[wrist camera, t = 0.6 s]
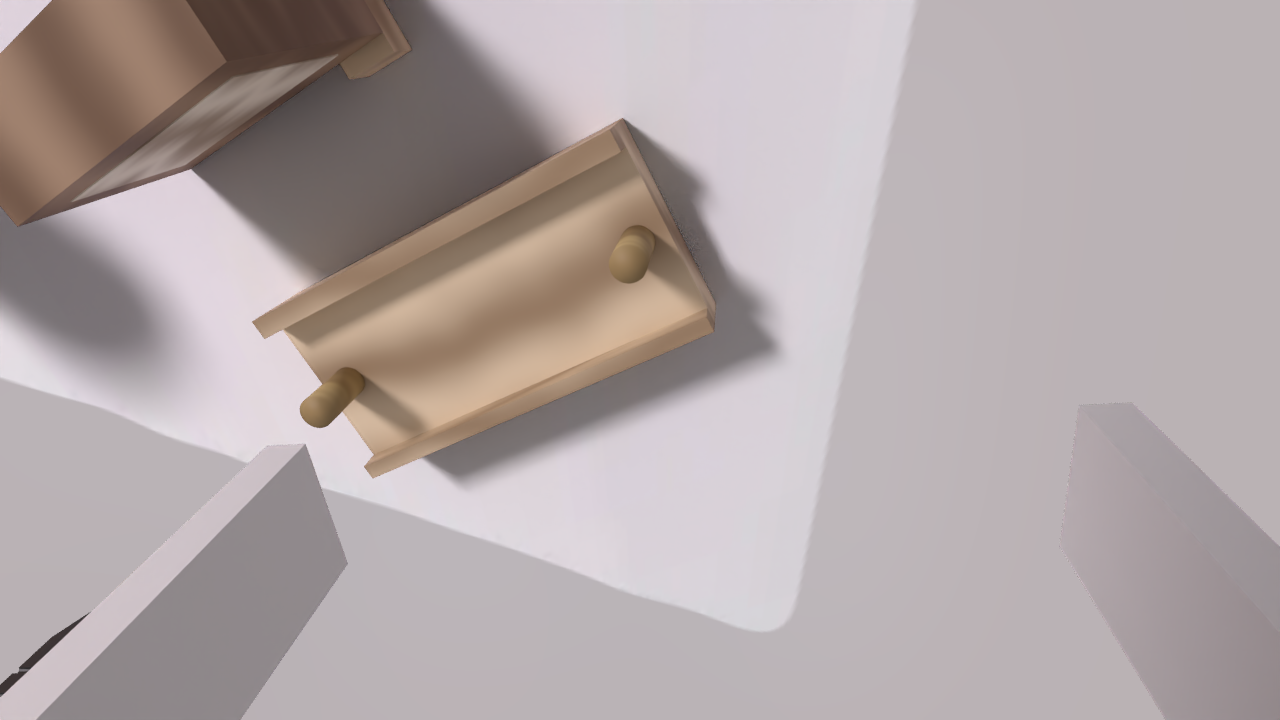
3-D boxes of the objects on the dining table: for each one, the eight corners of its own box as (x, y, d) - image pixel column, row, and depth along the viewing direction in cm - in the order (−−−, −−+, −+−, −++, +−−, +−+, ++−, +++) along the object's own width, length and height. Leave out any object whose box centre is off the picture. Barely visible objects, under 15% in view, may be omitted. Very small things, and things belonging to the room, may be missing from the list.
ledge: (295, 294, 40) (226, 337, 34) (622, 118, 34) (601, 136, 29) (400, 442, 43) (352, 503, 38) (716, 303, 37) (713, 352, 32)
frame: (190, 170, 38) (18, 227, 30) (129, 84, 36) (-68, 123, 29) (383, 33, 32) (227, 62, 24) (319, -77, 30) (131, -82, 22)
